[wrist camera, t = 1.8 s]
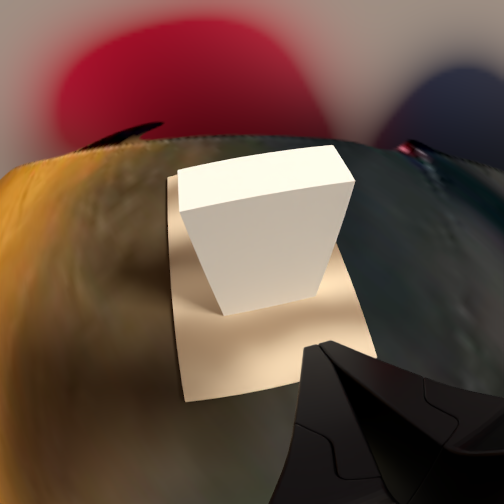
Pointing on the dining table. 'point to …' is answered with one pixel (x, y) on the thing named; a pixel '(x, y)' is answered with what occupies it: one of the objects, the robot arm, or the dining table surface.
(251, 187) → the card box
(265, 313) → the mat
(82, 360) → the dining table surface
